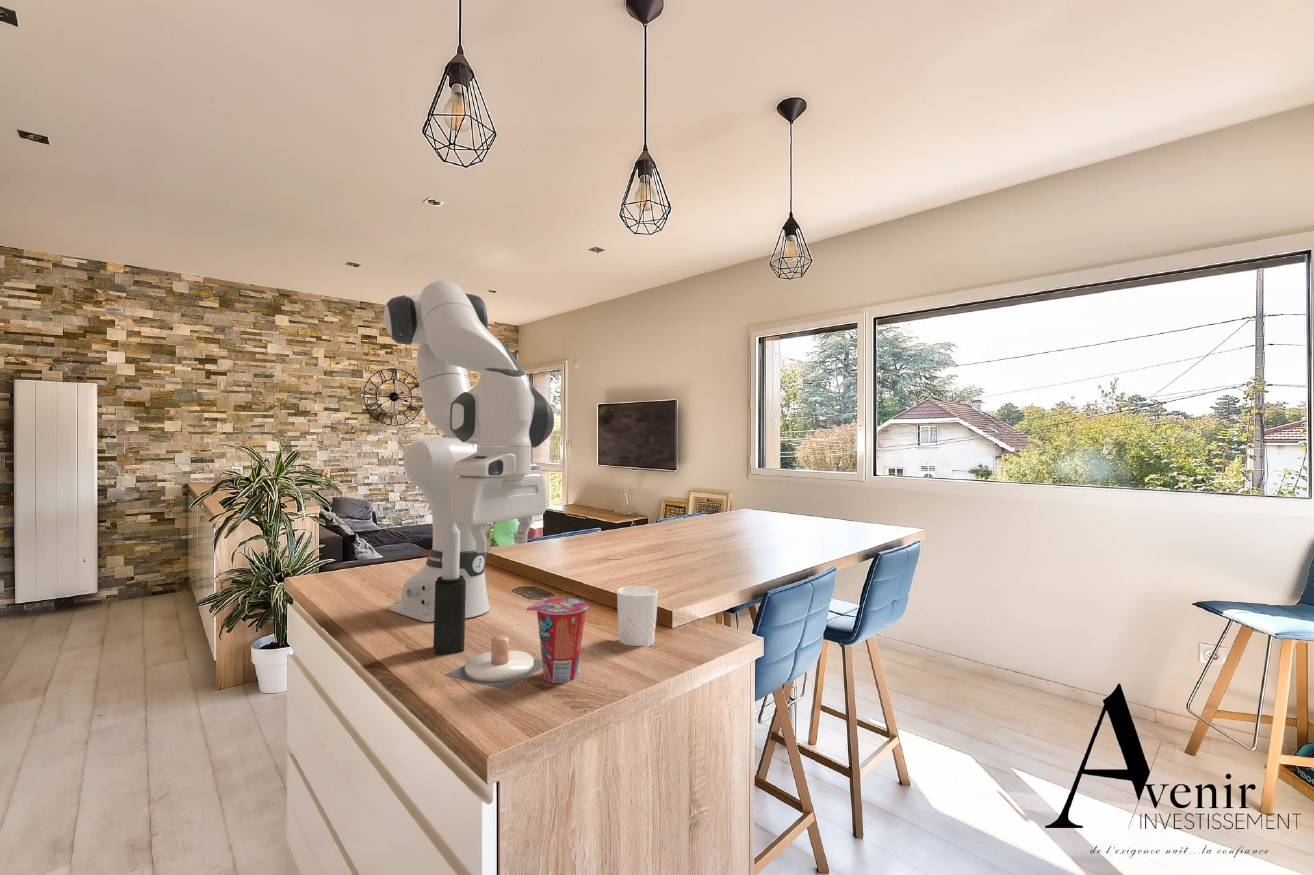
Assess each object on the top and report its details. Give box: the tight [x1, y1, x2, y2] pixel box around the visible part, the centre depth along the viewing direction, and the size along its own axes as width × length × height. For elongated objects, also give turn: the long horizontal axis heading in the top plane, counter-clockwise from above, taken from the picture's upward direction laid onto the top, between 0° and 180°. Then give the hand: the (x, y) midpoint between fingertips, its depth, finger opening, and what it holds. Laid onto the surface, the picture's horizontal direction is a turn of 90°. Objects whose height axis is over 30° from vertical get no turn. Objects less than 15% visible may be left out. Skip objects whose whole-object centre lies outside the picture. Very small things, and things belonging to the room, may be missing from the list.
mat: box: [445, 658, 543, 690], centre depth 94 cm, size 12×12×1 cm
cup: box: [525, 597, 589, 684], centre depth 91 cm, size 9×8×12 cm
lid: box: [464, 634, 535, 682], centre depth 94 cm, size 11×11×5 cm
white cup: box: [616, 585, 659, 648], centre depth 110 cm, size 8×8×10 cm
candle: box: [432, 514, 466, 656], centre depth 103 cm, size 5×5×25 cm
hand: (502, 547), depth 94 cm, fingers open, 8 cm apart
